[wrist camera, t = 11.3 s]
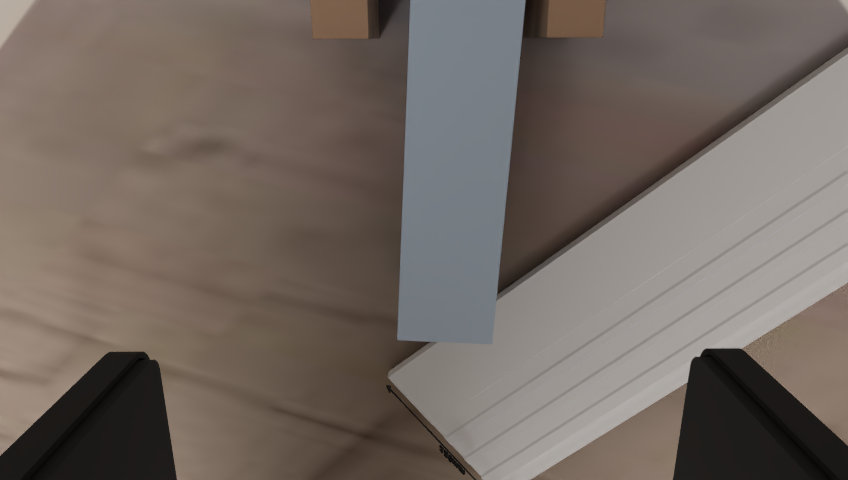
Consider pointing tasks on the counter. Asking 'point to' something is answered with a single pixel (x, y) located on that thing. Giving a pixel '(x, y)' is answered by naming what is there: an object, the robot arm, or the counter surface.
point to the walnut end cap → (544, 18)
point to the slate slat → (456, 165)
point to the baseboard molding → (651, 290)
